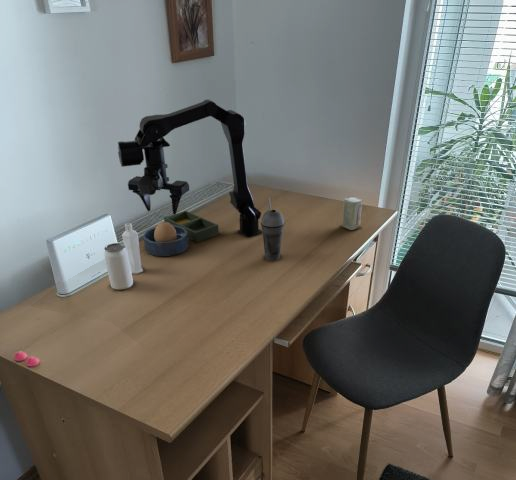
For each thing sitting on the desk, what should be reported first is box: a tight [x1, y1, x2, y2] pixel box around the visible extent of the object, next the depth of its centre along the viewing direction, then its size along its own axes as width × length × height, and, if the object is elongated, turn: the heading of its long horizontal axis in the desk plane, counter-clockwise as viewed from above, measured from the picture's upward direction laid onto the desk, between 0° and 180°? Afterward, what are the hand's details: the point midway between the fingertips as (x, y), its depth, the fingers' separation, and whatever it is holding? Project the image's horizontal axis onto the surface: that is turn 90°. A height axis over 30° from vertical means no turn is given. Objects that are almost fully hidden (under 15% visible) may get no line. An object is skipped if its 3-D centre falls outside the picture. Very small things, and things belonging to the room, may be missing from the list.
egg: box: [154, 221, 177, 242], centre depth 163 cm, size 7×7×8 cm
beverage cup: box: [260, 195, 285, 262], centre depth 153 cm, size 7×7×20 cm
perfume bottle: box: [121, 222, 144, 274], centre depth 149 cm, size 5×4×15 cm
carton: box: [163, 210, 220, 243], centre depth 176 cm, size 19×10×4 cm, turn 43°
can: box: [103, 242, 134, 291], centre depth 142 cm, size 6×6×12 cm
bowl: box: [142, 225, 189, 257], centre depth 165 cm, size 14×14×5 cm
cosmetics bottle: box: [341, 196, 363, 231], centre depth 175 cm, size 5×4×10 cm
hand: (161, 212), depth 159 cm, fingers open, 9 cm apart
